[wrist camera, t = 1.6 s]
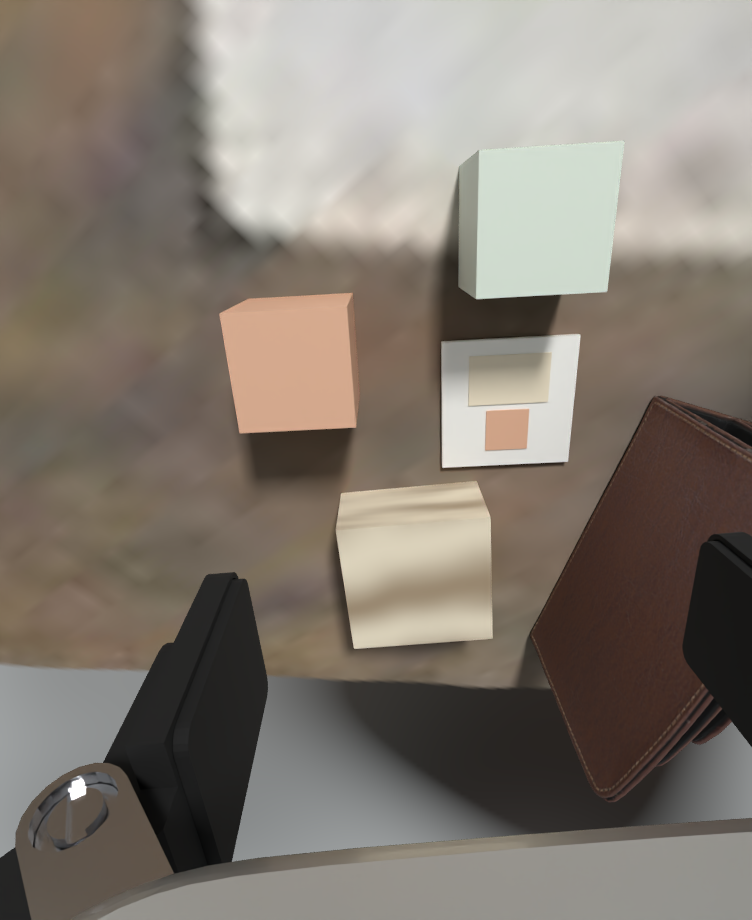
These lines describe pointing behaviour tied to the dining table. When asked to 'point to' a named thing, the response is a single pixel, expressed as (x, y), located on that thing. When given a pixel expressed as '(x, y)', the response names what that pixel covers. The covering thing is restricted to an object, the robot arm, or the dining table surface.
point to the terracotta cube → (293, 362)
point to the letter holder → (644, 596)
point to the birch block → (416, 564)
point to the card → (507, 400)
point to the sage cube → (538, 219)
